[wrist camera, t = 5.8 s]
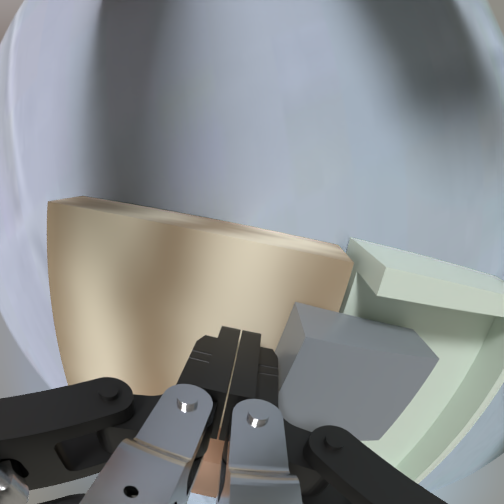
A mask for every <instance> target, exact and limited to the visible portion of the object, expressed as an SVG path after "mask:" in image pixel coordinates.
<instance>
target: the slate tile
mask: <svg viewBox="0 0 504 504" xmlns="http://www.w3.org/2000/svg"><path fill="white" fill-rule="evenodd" d="M275 354H276V355H277V357H278V408H279V410H280V411H281V413H282V415H283V418H284V419H285V420H286V421H288V422H289V423H290V424H292V425H294V426H296V427H299V428H302V429H304V430H307V431H310V432H313V431H314V430H315V429H316V428H318V427H321V426H325V425H333V426H338V427H341V428H343V429H345V430H347V431H348V432H350V433H351V434H352V435H353V436H355V437H356V438H357V439H358V440H360V441H373V440H380V438H381V437H382V436H383V435H384V434H385V433H386V432H387V430H388V429H389V428H390V427H391V426H392V425H393V423H394V422H395V421H396V420H397V419H398V417H399V416H400V415H401V414H402V412H403V411H404V410H405V408H406V407H407V406H408V405H409V403H410V402H411V401H412V399H413V398H414V396H415V395H416V394H417V392H418V391H419V390H420V388H421V387H422V385H423V384H424V382H425V381H426V379H427V378H428V376H429V375H430V373H431V372H432V370H433V369H434V367H435V366H436V364H437V362H438V361H439V358H438V357H437V355H436V354H435V353H434V352H433V351H432V350H431V348H430V347H429V346H428V345H427V344H426V343H425V342H424V341H423V339H422V338H421V337H420V336H419V335H418V334H417V333H416V332H415V331H414V330H413V329H410V328H405V327H400V326H396V325H391V324H387V323H382V322H378V321H373V320H369V319H364V318H360V317H356V316H351V315H347V314H343V313H339V312H335V311H331V310H326V309H322V308H318V307H314V306H310V305H306V304H302V303H299V302H295V303H294V305H293V308H292V310H291V313H290V315H289V318H288V320H287V323H286V325H285V328H284V330H283V333H282V335H281V338H280V340H279V342H278V345H277V347H276V349H275Z"/></svg>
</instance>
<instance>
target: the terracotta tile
mask: <svg viewBox="0 0 504 504" xmlns="http://www.w3.org/2000/svg"><path fill="white" fill-rule="evenodd" d="M220 431H221V428H219V431H218V436H217V439H213V438H210V441H209V445H208V449H207V451H206V453H205V455H204V458H203V461H202V464H201V466H200V469H199V472H198V474H197V477H196V480H195V482H194V485H193V487H192V490H191V492H192V493H196V494H201V495H205V496H209V497H214V498H216V496H217V490H218V480H219V470H220V460H221V456H222V452H223V447H224V442H225V441H222V440H219V435H220Z"/></svg>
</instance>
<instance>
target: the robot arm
mask: <svg viewBox="0 0 504 504" xmlns="http://www.w3.org/2000/svg"><path fill="white" fill-rule="evenodd" d="M240 331H241V330H240V329H236V328H231V327H226V326H222V327H221V330H220V332H219V335H218V338H216V337H212V336H208V335H205V336H203V337H202V338H200V339H199V340H197V341H196V343H195V345H194V347H193V350H192V352H191V354H190V356H189V358H188V360H187V362H186V364H185V367H184V369H183V371H182V373H181V375H180V377H179V379H178V382H177V384H176V385H174V386H171V387H169V388H168V389H167V390H166V391H165V392H164V393H163V394H162V395H156V396H148V395H136V394H133V392H132V389H131V388H130V386H129V385H128V384H127V383H125V382H124V381H122V380H120V379H117V378H113V377H102V378H97V379H93V380H89V381H85V382H81V383H77V384H73V385H69V386H64V387H60V388H55V389H51V390H46V391H41V392H36V393H31V394H25V395H20V396H14V397H8V398H1V399H0V504H26V503H27V502H28V495H29V490H33V489H38V488H43V487H48V486H53V485H57V484H61V483H65V482H69V481H73V480H76V479H80V478H83V477H87V476H90V475H93V474H96V473H99V472H100V473H99V475H98V476H97V478H96V479H95V481H94V483H93V484H92V485H91V487H90V488H89V490H88V491H87V493H86V494H75V495H69V496H65V497H62V498H58V499H55V500H51V501H47V502H43V503H39V504H187V501H188V498H189V495H190V493H191V490H192V487H193V485H194V482H195V480H196V477H197V474H198V472H199V469H200V466H201V464H202V461H203V458H204V455H205V453H206V451H207V449H208V445H209V441H210V438H213V439H217V436H218V431H219V427H220V423H221V418H222V414H223V410H224V405H225V401H226V396H227V392H228V387H229V383H230V379H231V374H232V370H233V365H234V360H235V355H236V351H237V346H238V341H239V336H240ZM260 343H261V334H260V333H255V332H250V331H245V330H242V334H241V339H240V343H239V348H238V353H237V357H236V362H235V366H234V371H233V376H232V380H231V385H230V389H229V394H228V399H227V403H226V408H225V412H224V417H223V422H222V426H221V431H220V435H219V440H222V441H225V442H224V447H223V452H222V456H221V460H220V470H219V480H218V490H217V501H216V504H447V503H446V502H444V501H443V500H441V499H440V498H438V497H437V496H435V495H433V494H432V493H430V492H429V491H427V490H426V489H424V488H423V487H422V486H420V485H419V484H417V483H416V482H414V481H413V480H411V479H410V478H409V477H407V476H406V475H404V474H403V473H402V472H400V471H399V470H397V469H396V468H395V467H393V466H392V465H391V464H389V463H388V462H387V461H385V460H384V459H383V458H381V457H380V456H379V455H377V454H376V453H375V452H374V451H372V450H371V449H370V448H368V447H367V446H366V445H365V444H363V443H362V442H361V441H360V440H358V439H357V438H356V437H355V436H353V435H352V434H351V433H350V432H348V431H347V430H345V429H343V428H341V427H338V426H333V425H325V426H321V427H318V428H316V429H315V430H314V431H313V432H310V431H307V430H304V429H302V428H299V427H296V426H294V425H292V424H290V423H289V422H288V421H286V420H285V419H284V418H283V415H282V413H281V411H280V410H279V408H278V357H277V355H276V354H275V352H274V350H273V349H270V348H265V347H260Z"/></svg>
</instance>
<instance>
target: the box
mask: <svg viewBox="0 0 504 504" xmlns="http://www.w3.org/2000/svg"><path fill="white" fill-rule="evenodd" d="M346 254H347V255H348V256H349V258H350V259H351V260H352V261H353V262H354V265H353V268H352V272H351V275H350V279H349V282H348V285H347V288H346V291H345V295H344V298H343V301H342V304H341V307H340V310H339V313H343V314H347V315H351V316H356V317H360V318H364V319H369V320H373V321H378V322H382V323H387V324H391V325H396V326H400V327H405V328H410V329H413V330H414V331H415V332H416V333H417V334H418V335H419V336H420V337H421V338H422V339H423V341H424V342H425V343H426V344H427V345H428V346H429V347H430V348H431V350H432V351H433V352H434V353H435V354H436V355H437V357H438V358H439V361H438V362H437V364H436V366H435V367H434V369H433V370H432V372H431V373H430V375H429V376H428V378H427V379H426V381H425V382H424V384H423V385H422V387H421V388H420V390H419V391H418V392H417V394H416V395H415V396H414V398H413V399H412V401H411V402H410V403H409V405H408V406H407V407H406V408H405V410H404V411H403V412H402V414H401V415H400V416H399V417H398V419H397V420H396V421H395V422H394V423H393V425H392V426H391V427H390V428H389V429H388V430H387V432H386V433H385V434H384V435H383V436H382V437H381V438H380V440H373V441H361V442H362V443H363V444H365V445H366V446H367V447H368V448H370V449H371V450H372V451H374V452H375V453H376V454H377V455H379V456H380V457H381V458H383V459H384V460H385V461H387V462H388V463H389V464H391V465H392V466H393V467H395V468H396V469H397V470H399V471H400V472H402V473H403V474H404V475H406V476H407V477H409V478H410V479H411V480H413V481H414V482H416V483H417V484H418V483H420V482H421V481H422V480H423V479H424V478H425V477H426V476H427V475H428V474H429V473H430V472H431V471H432V470H434V469H435V468H436V467H437V466H438V465H439V464H440V463H441V462H442V461H443V460H444V458H445V457H446V456H447V455H448V454H449V453H450V452H451V451H452V450H453V449H454V448H455V447H456V446H457V444H458V443H459V442H460V441H461V440H462V439H463V437H464V436H465V435H466V434H467V433H468V431H469V430H470V429H471V428H472V427H473V425H474V424H475V423H476V421H477V420H478V419H479V417H480V416H481V415H482V413H483V412H484V411H485V409H486V408H487V407H488V405H489V404H490V402H491V401H492V399H493V398H494V396H495V395H496V393H497V392H498V390H499V389H500V387H501V386H502V384H503V382H504V281H503V280H501V279H499V278H498V277H496V276H493V275H490V274H487V273H483V272H480V271H477V270H473V269H470V268H466V267H463V266H459V265H456V264H452V263H449V262H445V261H442V260H438V259H434V258H431V257H427V256H423V255H419V254H416V253H412V252H408V251H404V250H400V249H396V248H392V247H388V246H384V245H380V244H376V243H372V242H368V241H364V240H360V239H356V238H352V237H350V240H349V244H348V247H347V251H346Z"/></svg>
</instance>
